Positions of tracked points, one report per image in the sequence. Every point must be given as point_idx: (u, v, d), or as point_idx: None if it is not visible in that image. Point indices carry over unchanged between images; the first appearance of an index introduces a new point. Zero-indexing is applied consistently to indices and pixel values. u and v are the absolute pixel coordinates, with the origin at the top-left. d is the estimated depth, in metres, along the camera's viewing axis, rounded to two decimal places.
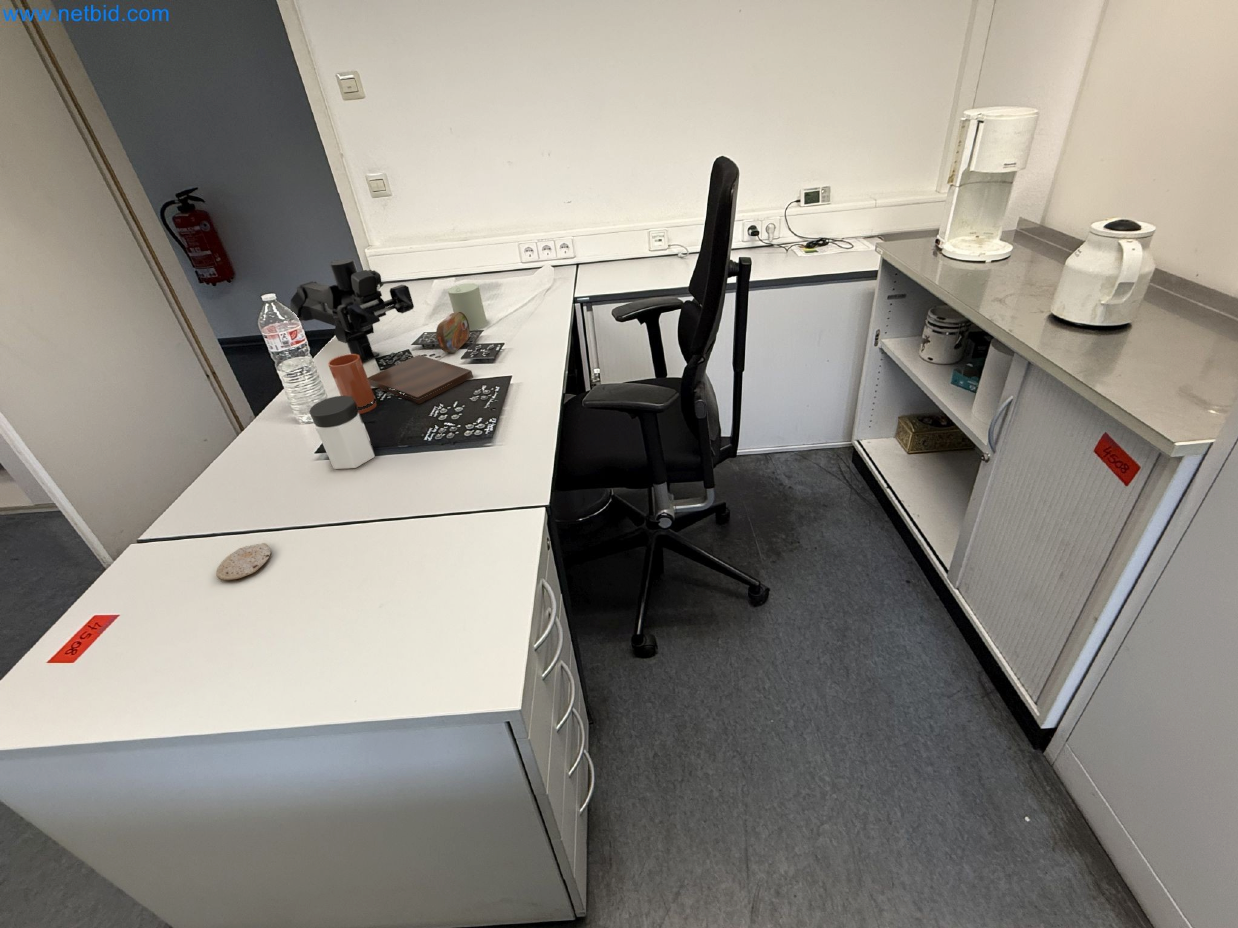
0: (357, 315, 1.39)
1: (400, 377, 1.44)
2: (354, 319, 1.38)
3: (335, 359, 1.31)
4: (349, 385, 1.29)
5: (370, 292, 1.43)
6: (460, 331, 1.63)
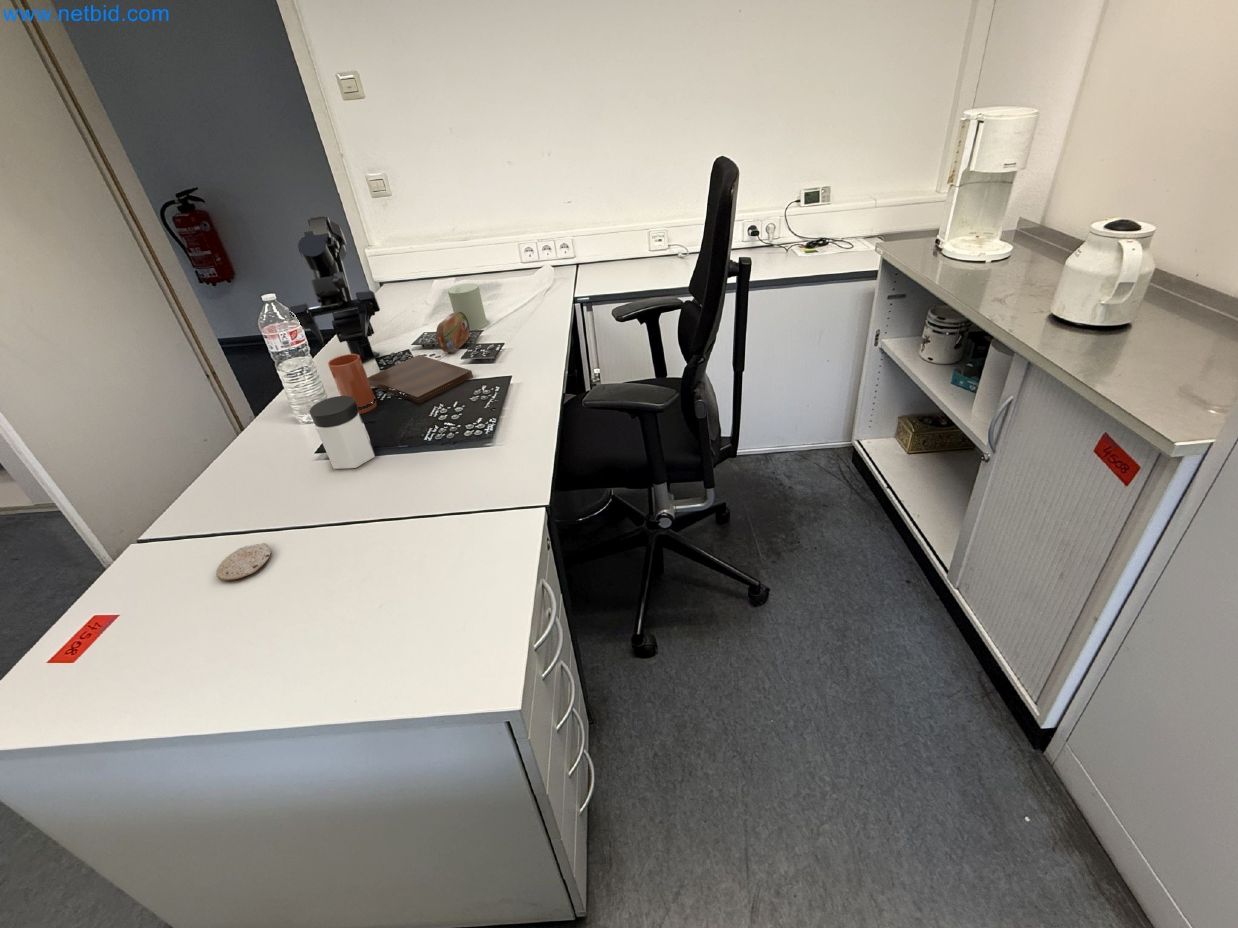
0: None
1: (400, 377, 1.44)
2: (304, 323, 1.34)
3: (335, 359, 1.31)
4: (349, 385, 1.29)
5: (331, 294, 1.33)
6: (460, 331, 1.63)
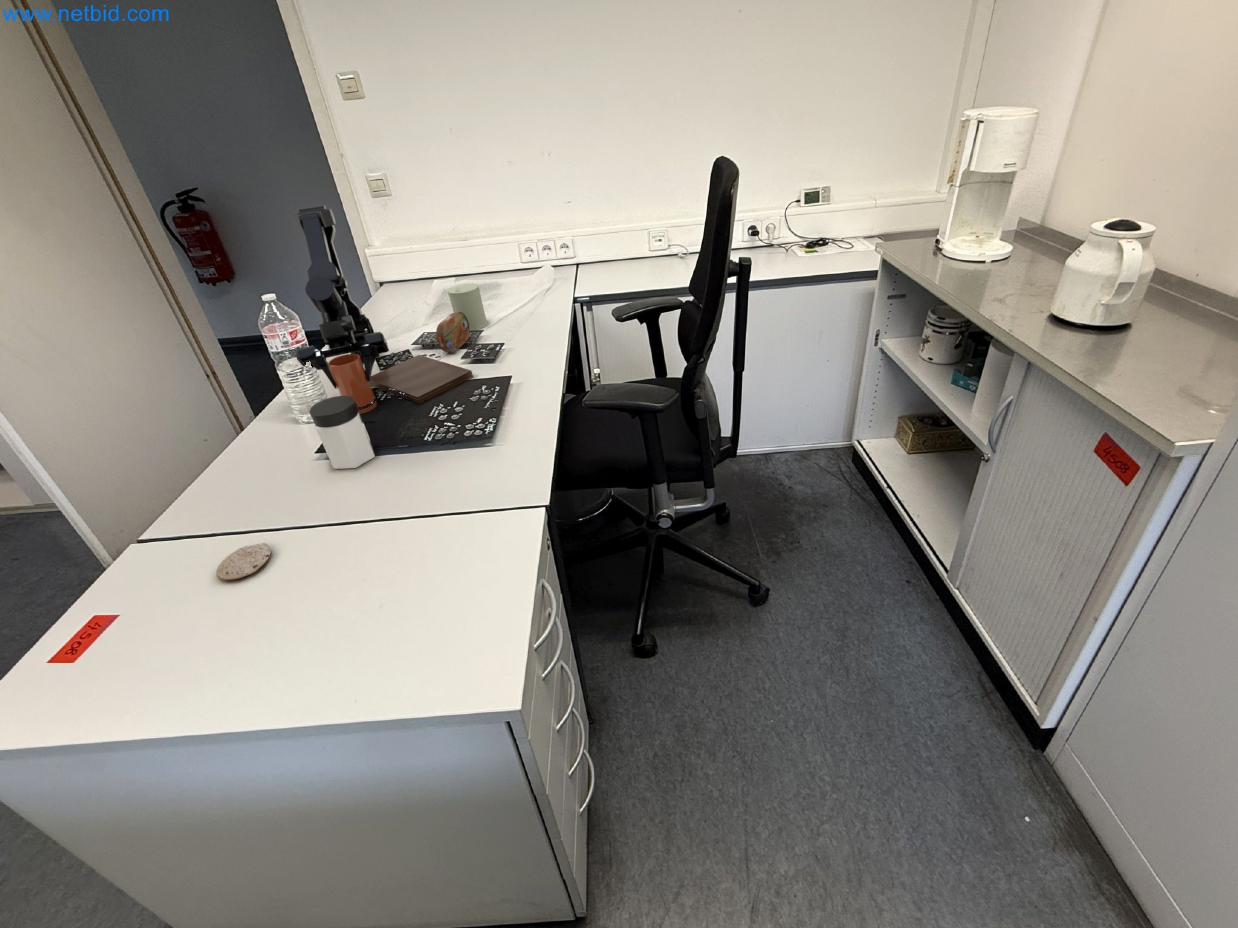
0: None
1: (400, 377, 1.44)
2: (316, 365, 1.31)
3: (335, 359, 1.31)
4: (349, 385, 1.29)
5: (339, 337, 1.30)
6: (460, 331, 1.63)
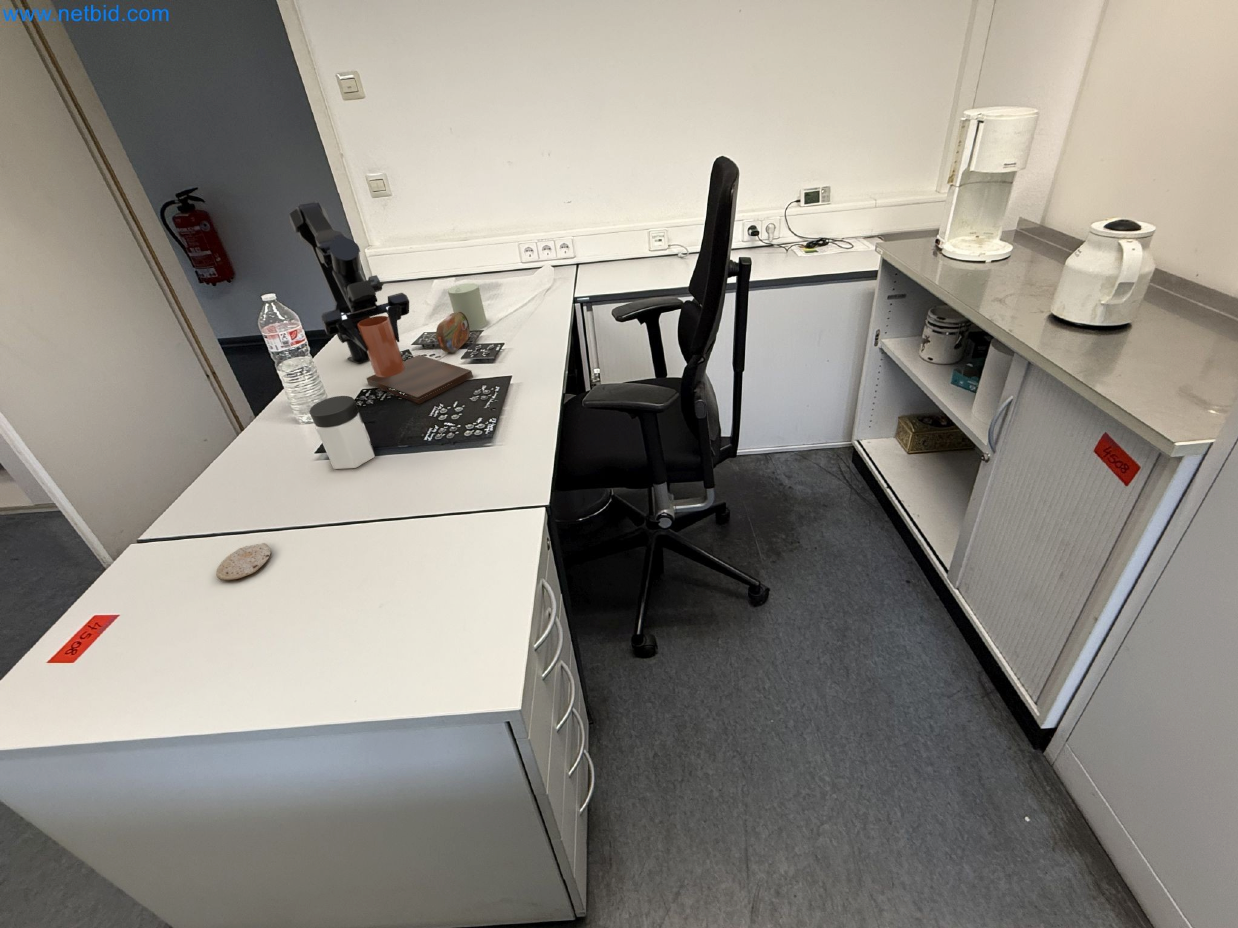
0: None
1: (400, 377, 1.44)
2: (342, 329, 1.28)
3: (362, 322, 1.29)
4: (383, 345, 1.28)
5: (365, 299, 1.28)
6: (460, 331, 1.63)
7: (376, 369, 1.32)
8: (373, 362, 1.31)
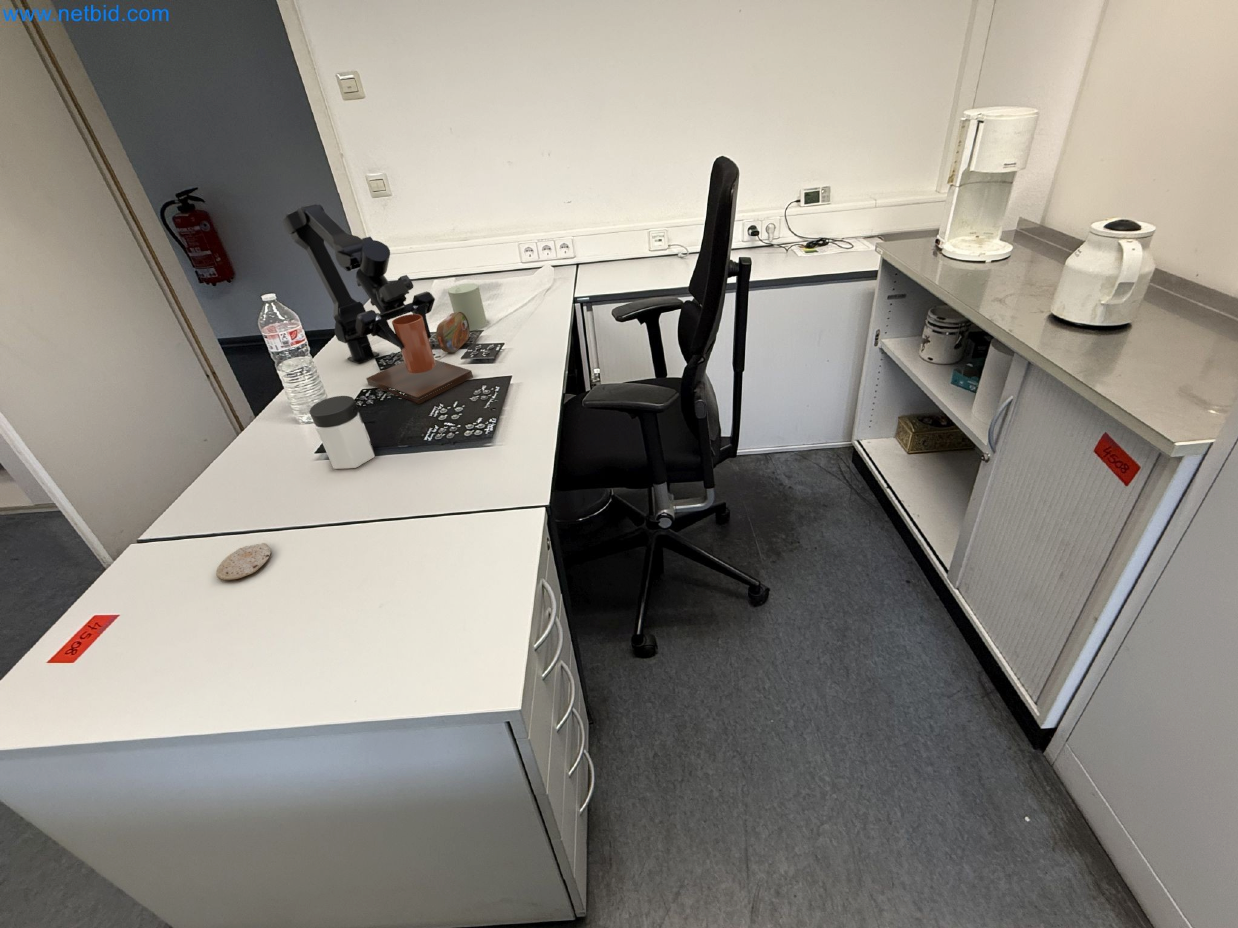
0: (380, 326, 1.32)
1: (400, 377, 1.44)
2: (376, 329, 1.32)
3: (394, 321, 1.33)
4: (419, 342, 1.33)
5: (396, 298, 1.33)
6: (460, 331, 1.63)
7: (411, 366, 1.36)
8: (408, 359, 1.35)
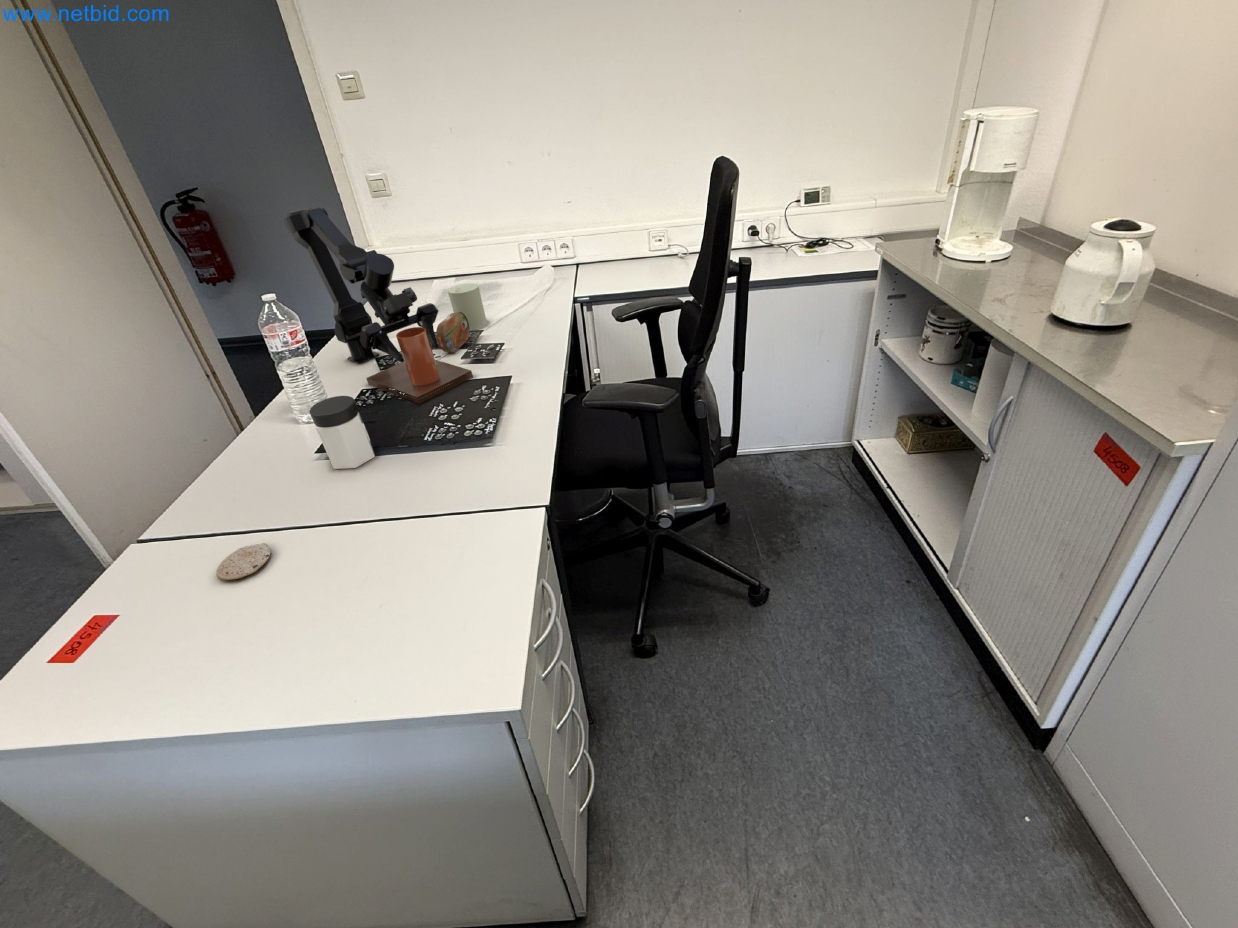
0: (380, 340, 1.33)
1: (400, 377, 1.44)
2: (376, 343, 1.33)
3: (398, 334, 1.35)
4: (423, 354, 1.35)
5: (400, 310, 1.34)
6: (460, 331, 1.63)
7: (415, 378, 1.38)
8: (413, 371, 1.37)
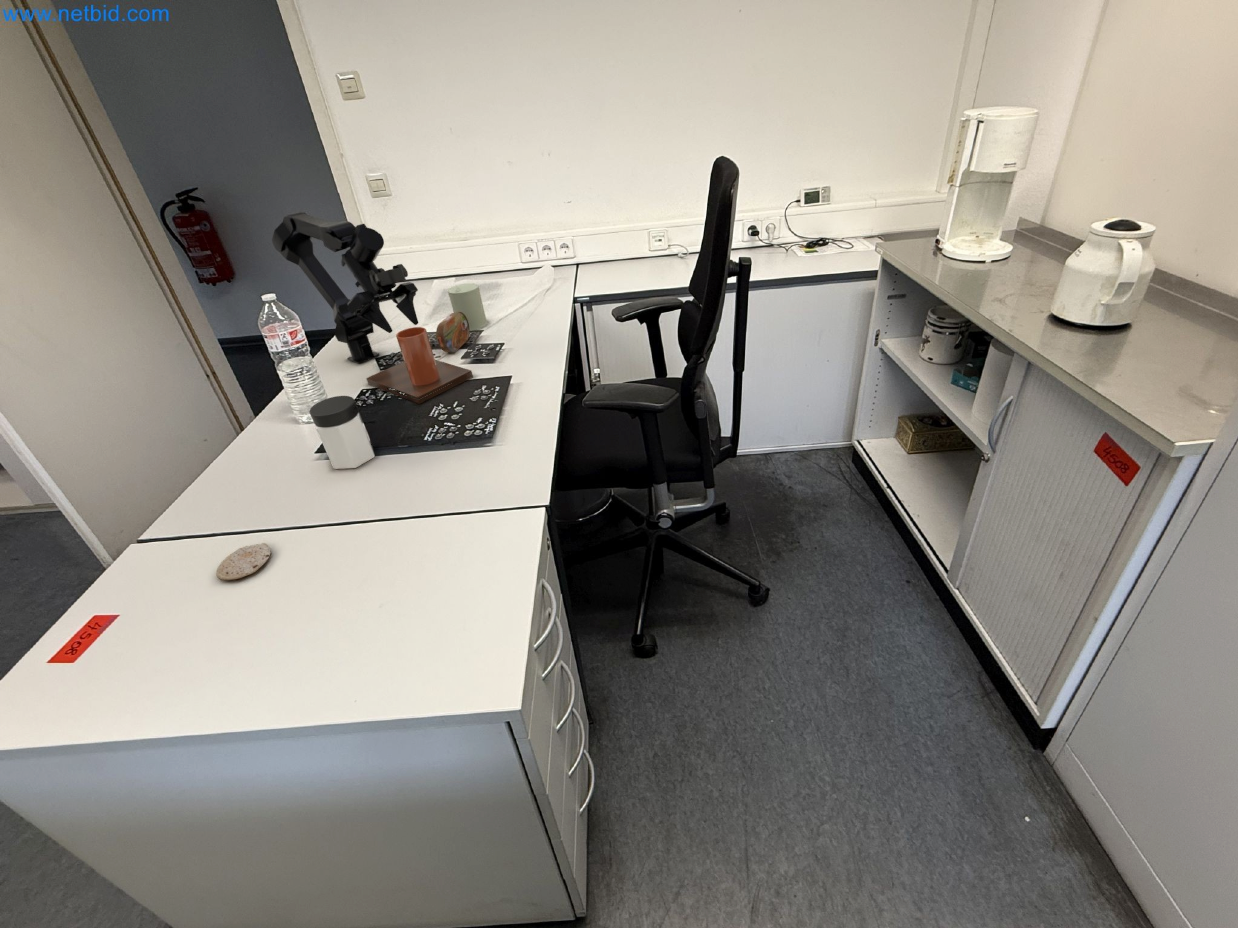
0: (370, 309, 1.37)
1: (400, 377, 1.44)
2: (366, 311, 1.36)
3: (398, 334, 1.35)
4: (423, 354, 1.35)
5: (388, 284, 1.40)
6: (460, 331, 1.63)
7: (415, 378, 1.38)
8: (413, 371, 1.37)
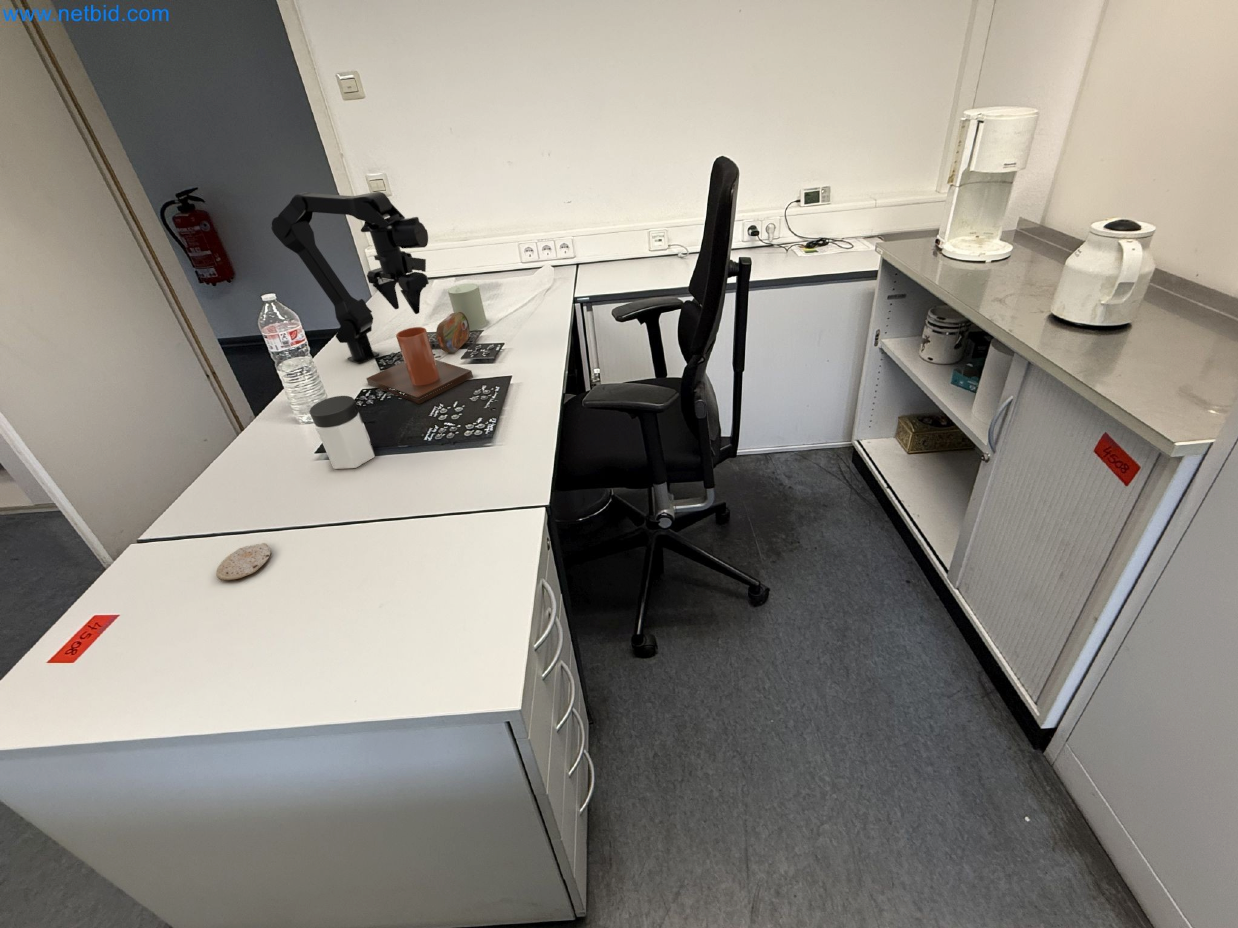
0: None
1: (400, 377, 1.44)
2: None
3: (398, 334, 1.35)
4: (423, 354, 1.35)
5: None
6: (460, 331, 1.63)
7: (415, 378, 1.38)
8: (413, 371, 1.37)
